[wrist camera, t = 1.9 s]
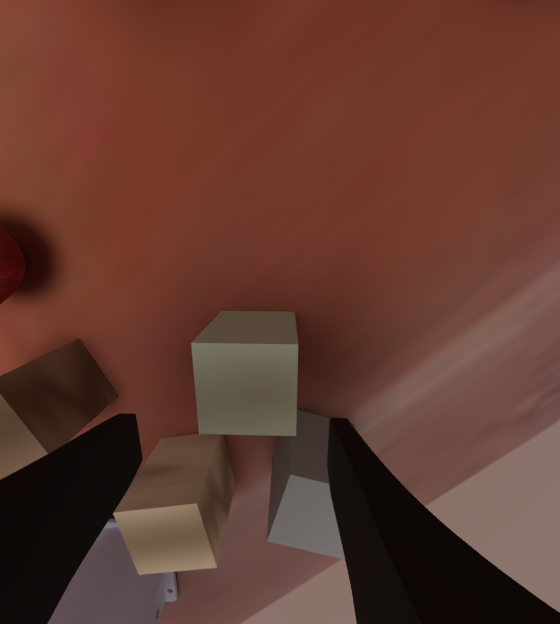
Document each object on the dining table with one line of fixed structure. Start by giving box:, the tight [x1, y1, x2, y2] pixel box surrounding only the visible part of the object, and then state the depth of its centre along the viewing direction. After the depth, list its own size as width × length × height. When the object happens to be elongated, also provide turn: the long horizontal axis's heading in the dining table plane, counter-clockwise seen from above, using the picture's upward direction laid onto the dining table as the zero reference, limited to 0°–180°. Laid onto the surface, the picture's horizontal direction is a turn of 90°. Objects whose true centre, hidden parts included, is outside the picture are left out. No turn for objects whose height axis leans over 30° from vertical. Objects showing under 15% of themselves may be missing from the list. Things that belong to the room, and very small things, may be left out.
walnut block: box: [0, 339, 118, 478], centre depth 17 cm, size 5×5×6 cm
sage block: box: [191, 311, 298, 436], centre depth 16 cm, size 5×5×6 cm
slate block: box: [267, 410, 355, 559], centre depth 18 cm, size 5×5×6 cm
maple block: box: [113, 434, 236, 575], centre depth 19 cm, size 5×5×6 cm
